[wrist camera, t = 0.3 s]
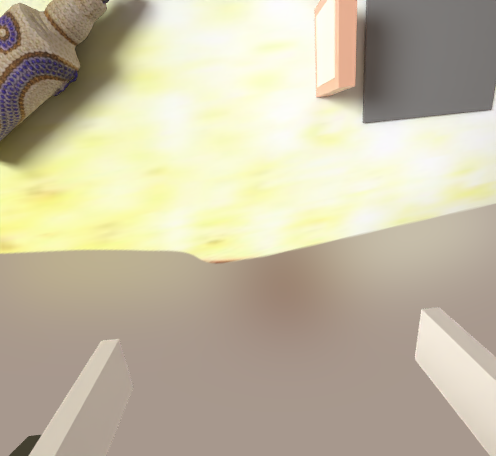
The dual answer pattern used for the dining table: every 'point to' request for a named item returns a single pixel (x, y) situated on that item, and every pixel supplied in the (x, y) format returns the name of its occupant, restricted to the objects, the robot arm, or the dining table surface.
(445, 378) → the robot arm
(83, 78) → the dining table surface
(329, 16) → the terracotta tile
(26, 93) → the decorative bottle
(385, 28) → the rubber mat
